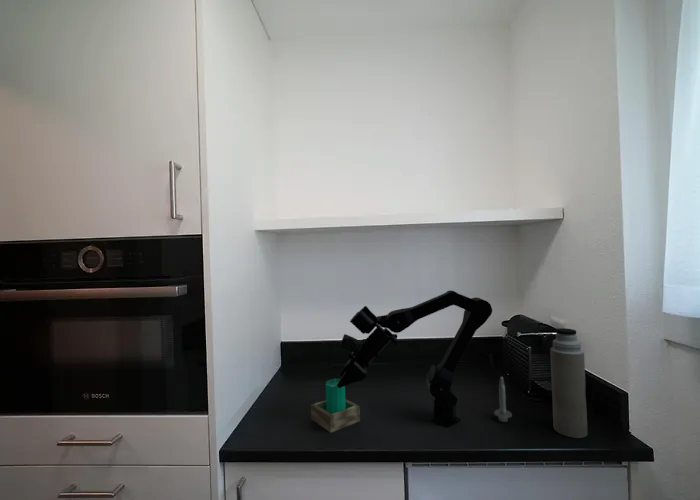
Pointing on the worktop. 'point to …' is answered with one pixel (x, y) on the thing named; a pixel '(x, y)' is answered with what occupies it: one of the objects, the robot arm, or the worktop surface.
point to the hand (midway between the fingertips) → (339, 381)
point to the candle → (334, 396)
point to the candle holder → (335, 416)
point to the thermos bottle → (568, 384)
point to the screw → (502, 404)
